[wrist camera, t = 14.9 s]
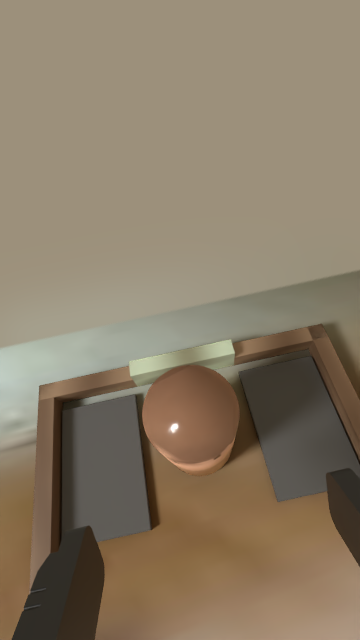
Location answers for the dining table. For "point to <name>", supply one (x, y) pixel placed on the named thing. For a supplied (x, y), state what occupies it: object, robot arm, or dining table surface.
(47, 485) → the box
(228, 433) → the terracotta jar
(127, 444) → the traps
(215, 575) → the dining table surface
